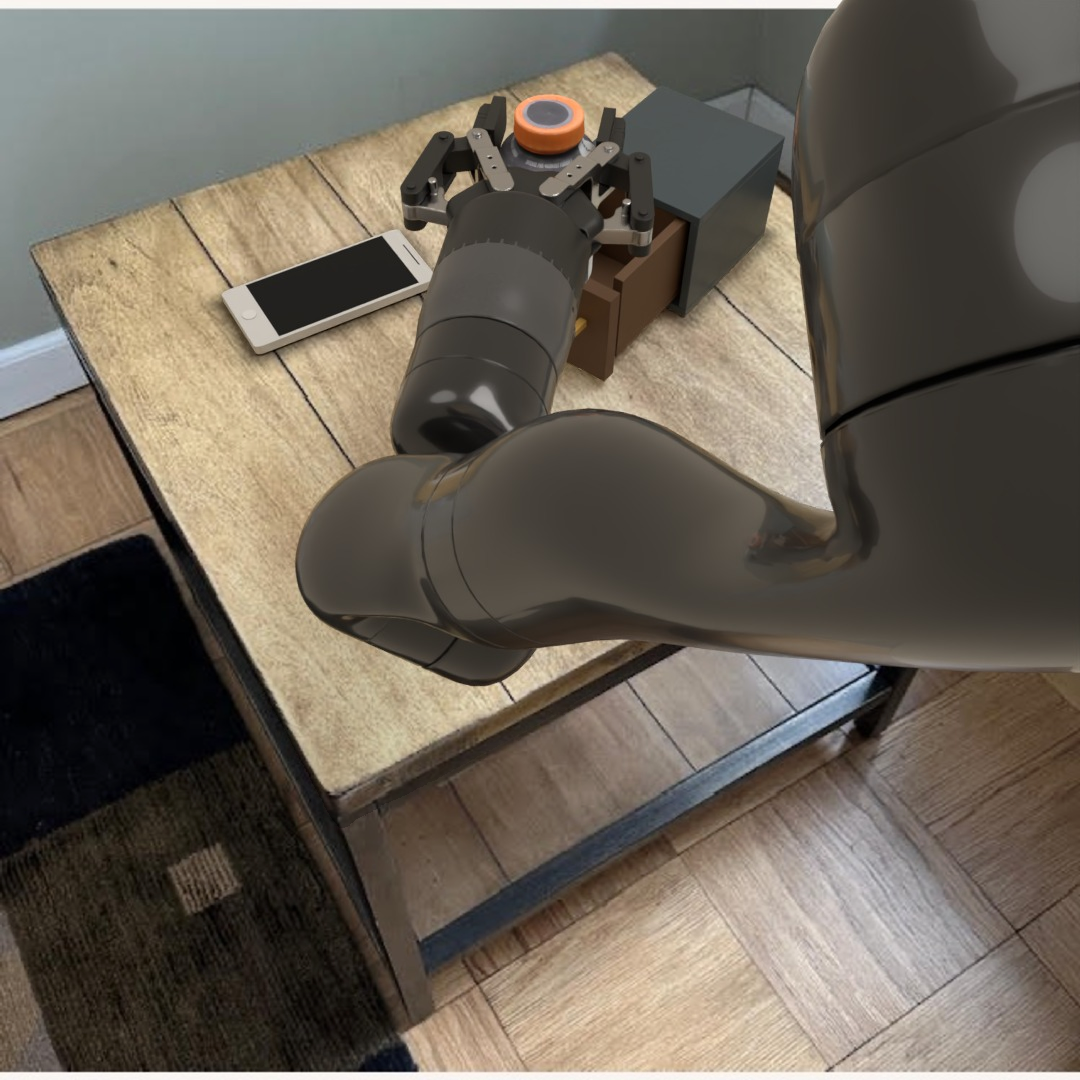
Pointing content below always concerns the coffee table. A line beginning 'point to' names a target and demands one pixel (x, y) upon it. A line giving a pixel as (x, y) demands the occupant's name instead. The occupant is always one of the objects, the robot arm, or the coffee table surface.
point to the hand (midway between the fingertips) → (554, 116)
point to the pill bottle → (547, 137)
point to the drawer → (627, 290)
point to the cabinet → (706, 181)
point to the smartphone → (327, 290)
